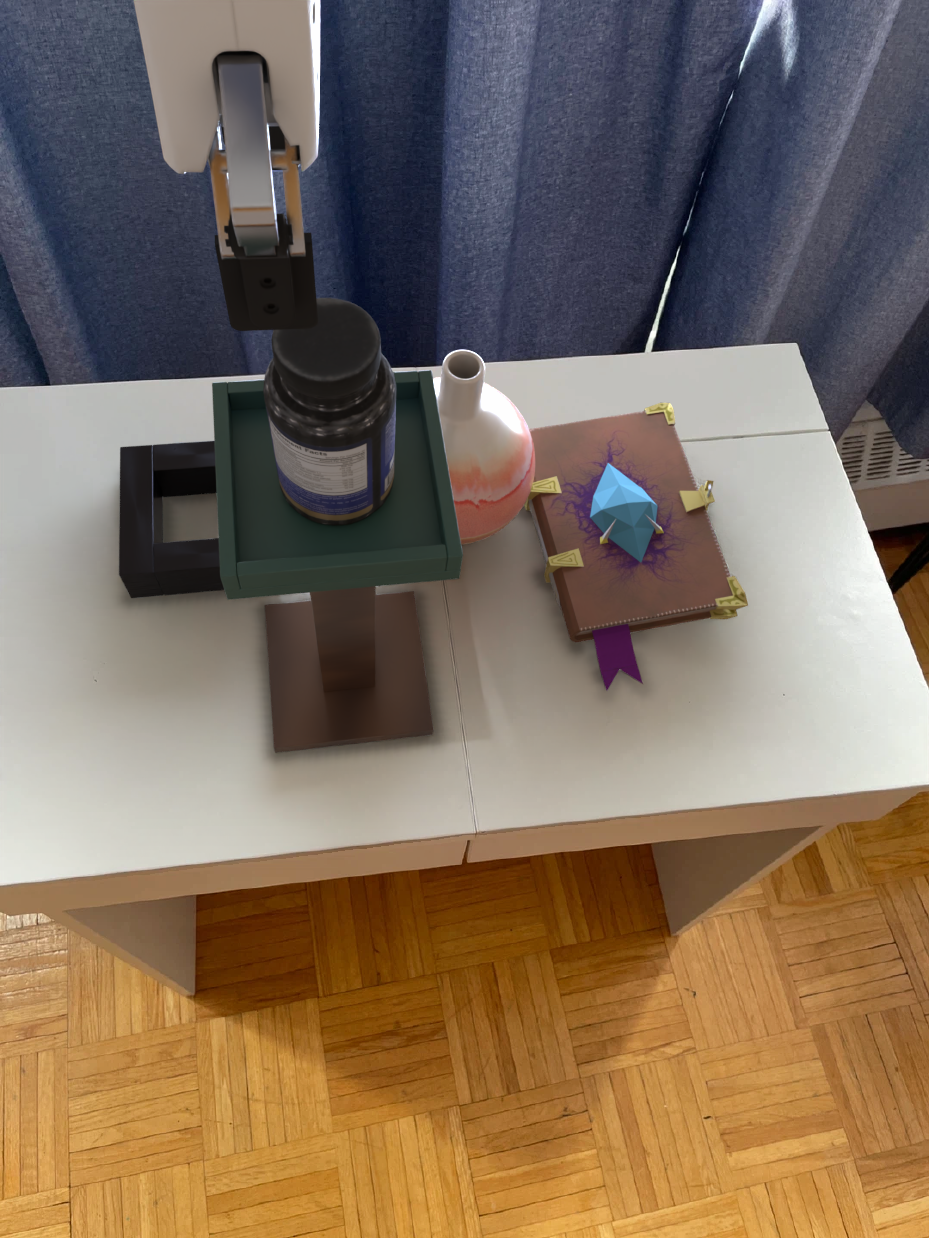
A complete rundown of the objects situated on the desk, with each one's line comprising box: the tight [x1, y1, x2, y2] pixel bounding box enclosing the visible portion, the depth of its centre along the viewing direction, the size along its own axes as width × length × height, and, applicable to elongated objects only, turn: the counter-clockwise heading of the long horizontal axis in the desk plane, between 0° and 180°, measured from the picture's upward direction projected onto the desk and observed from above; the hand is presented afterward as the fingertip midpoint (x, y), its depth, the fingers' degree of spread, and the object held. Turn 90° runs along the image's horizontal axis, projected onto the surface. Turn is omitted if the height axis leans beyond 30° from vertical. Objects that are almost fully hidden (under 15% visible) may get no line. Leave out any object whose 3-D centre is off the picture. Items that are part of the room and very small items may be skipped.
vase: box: [433, 349, 535, 546], centre depth 74 cm, size 14×14×18 cm
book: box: [523, 402, 749, 692], centre depth 79 cm, size 16×25×5 cm, turn 12°
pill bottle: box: [263, 297, 397, 526], centre depth 45 cm, size 6×6×11 cm
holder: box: [118, 440, 225, 599], centre depth 77 cm, size 12×12×4 cm
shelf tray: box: [211, 369, 464, 601], centre depth 50 cm, size 12×12×2 cm
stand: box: [264, 586, 434, 754], centre depth 62 cm, size 12×12×26 cm
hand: (269, 230), depth 37 cm, fingers open, 9 cm apart
